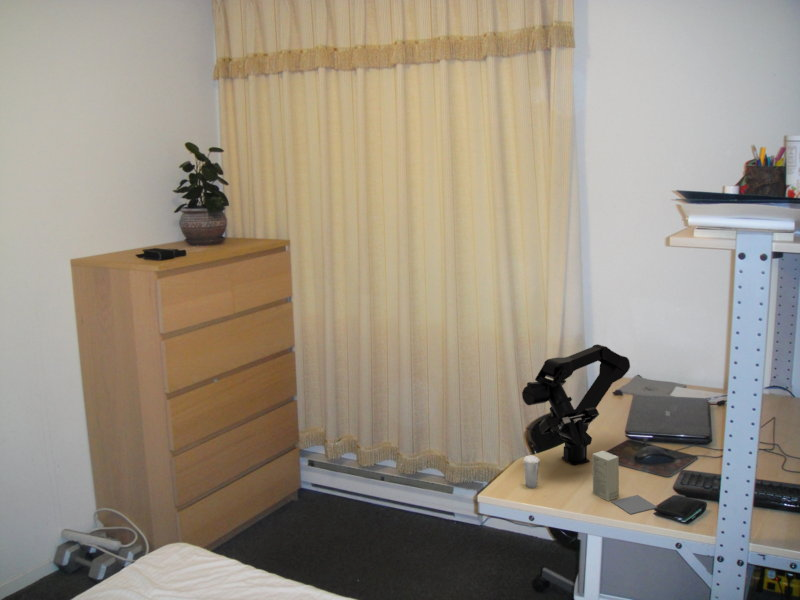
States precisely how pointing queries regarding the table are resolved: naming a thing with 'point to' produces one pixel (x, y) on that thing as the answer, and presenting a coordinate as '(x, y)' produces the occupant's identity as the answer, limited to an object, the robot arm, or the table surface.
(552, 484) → the table surface
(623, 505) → the felt pad
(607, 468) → the skincare box
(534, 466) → the milkshake
